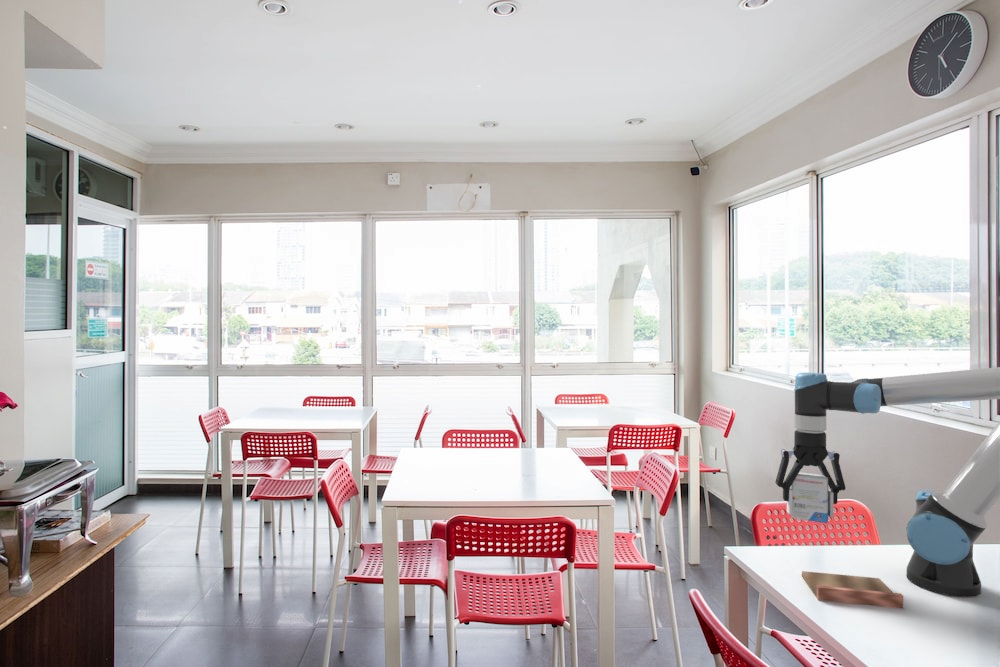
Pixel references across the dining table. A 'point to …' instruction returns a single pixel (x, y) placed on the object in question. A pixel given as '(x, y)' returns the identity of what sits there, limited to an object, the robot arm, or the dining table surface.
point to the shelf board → (852, 589)
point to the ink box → (810, 497)
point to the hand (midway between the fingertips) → (809, 514)
